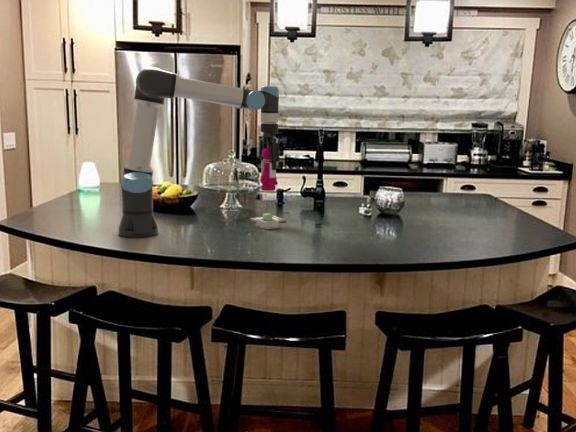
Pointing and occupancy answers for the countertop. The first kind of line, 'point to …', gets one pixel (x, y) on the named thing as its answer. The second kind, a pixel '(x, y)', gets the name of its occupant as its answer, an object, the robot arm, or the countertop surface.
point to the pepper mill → (267, 172)
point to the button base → (267, 223)
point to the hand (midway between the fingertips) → (268, 176)
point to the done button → (267, 217)
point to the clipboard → (272, 217)
